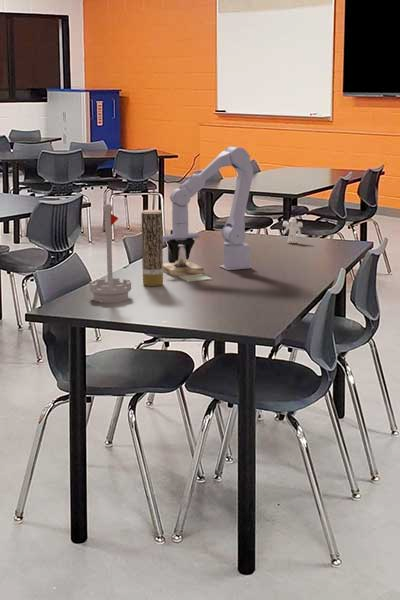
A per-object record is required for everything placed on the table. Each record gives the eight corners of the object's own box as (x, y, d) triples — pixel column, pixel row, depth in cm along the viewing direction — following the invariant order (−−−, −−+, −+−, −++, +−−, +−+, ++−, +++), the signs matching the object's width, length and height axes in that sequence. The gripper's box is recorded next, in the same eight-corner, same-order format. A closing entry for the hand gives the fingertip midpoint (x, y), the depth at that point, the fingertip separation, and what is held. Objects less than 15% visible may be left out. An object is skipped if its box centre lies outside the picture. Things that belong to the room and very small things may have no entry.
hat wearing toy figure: (303, 243, 384) (304, 215, 381) (300, 244, 381) (300, 216, 378) (283, 241, 388) (284, 214, 385) (280, 242, 385) (280, 215, 382)
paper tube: (166, 283, 305) (164, 210, 299) (158, 287, 298) (157, 212, 293) (147, 282, 307) (146, 209, 301) (139, 286, 300) (138, 212, 295)
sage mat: (202, 275, 318) (202, 273, 318) (212, 279, 310) (212, 278, 310) (178, 277, 315) (178, 276, 315) (188, 281, 307) (187, 280, 307)
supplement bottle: (165, 262, 343) (164, 231, 341) (172, 258, 350) (171, 228, 347) (181, 263, 341) (181, 231, 338) (188, 260, 347) (188, 229, 344)
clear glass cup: (183, 266, 327) (182, 244, 326) (188, 267, 324) (188, 245, 322) (173, 267, 325) (173, 245, 324) (178, 268, 322) (178, 246, 320)
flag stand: (114, 305, 274) (111, 207, 267) (81, 300, 281) (77, 204, 274) (139, 296, 285) (137, 202, 278) (107, 292, 292) (104, 200, 285)
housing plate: (189, 266, 333) (189, 261, 333) (203, 273, 321) (203, 267, 320) (158, 269, 329) (158, 263, 329) (172, 276, 316) (172, 270, 316)
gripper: (192, 219, 328) (193, 256, 331) (157, 222, 321) (158, 260, 324) (202, 221, 322) (202, 259, 325) (166, 225, 315) (166, 263, 318)
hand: (180, 259), depth 324 cm, fingers closed on clear glass cup, 4 cm apart
